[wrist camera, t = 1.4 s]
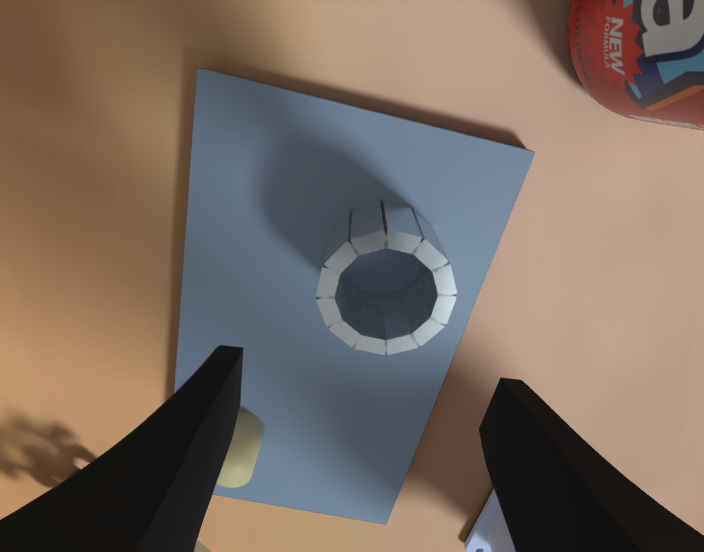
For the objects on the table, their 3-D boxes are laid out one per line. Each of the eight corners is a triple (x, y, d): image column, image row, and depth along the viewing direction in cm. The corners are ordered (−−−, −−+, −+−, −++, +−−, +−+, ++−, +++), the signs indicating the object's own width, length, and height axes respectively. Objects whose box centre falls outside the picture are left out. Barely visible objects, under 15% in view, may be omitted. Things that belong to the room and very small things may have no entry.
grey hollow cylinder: (453, 216, 19) (474, 249, 15) (419, 315, 21) (431, 364, 18) (338, 189, 19) (333, 216, 15) (316, 293, 21) (306, 339, 17)
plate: (526, 148, 19) (566, 165, 15) (385, 510, 29) (388, 573, 25) (205, 68, 18) (165, 66, 14) (173, 473, 28) (145, 533, 24)
